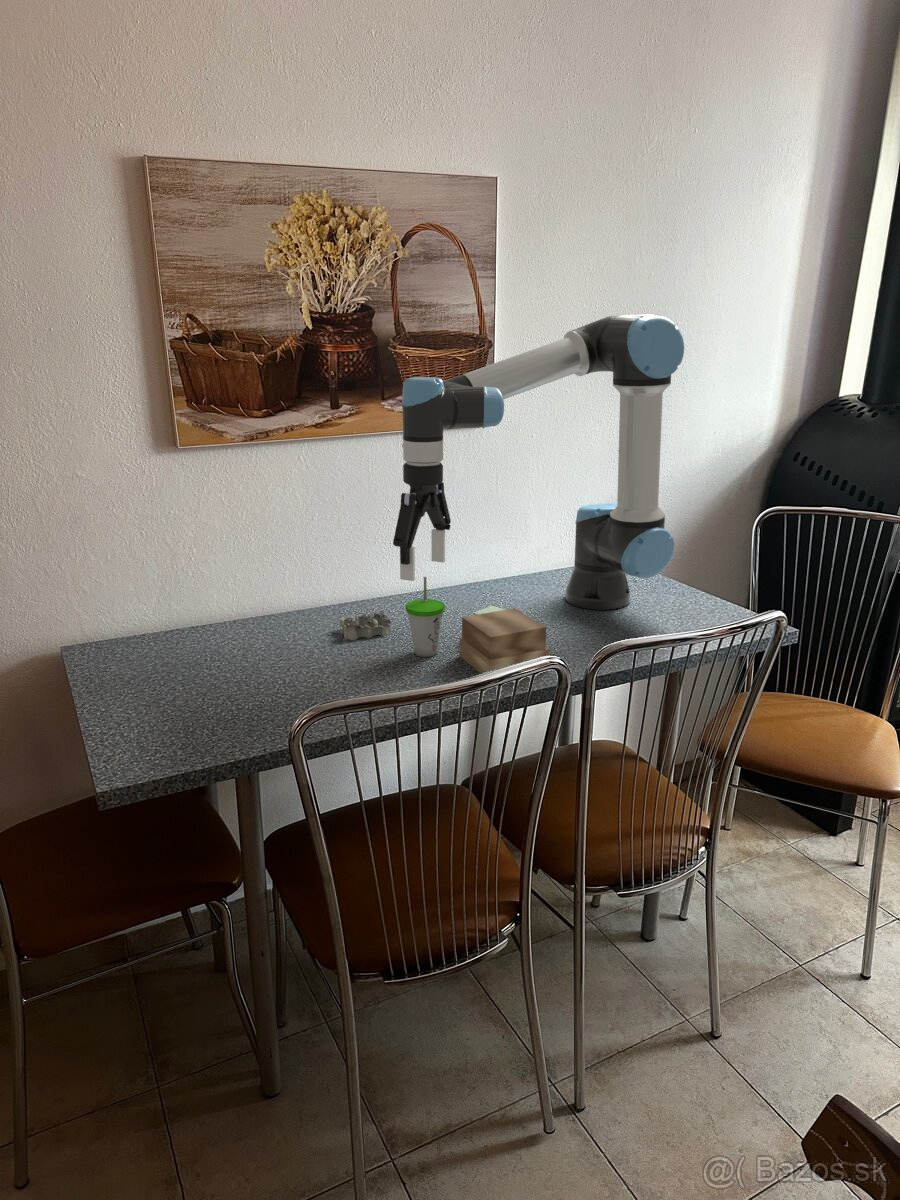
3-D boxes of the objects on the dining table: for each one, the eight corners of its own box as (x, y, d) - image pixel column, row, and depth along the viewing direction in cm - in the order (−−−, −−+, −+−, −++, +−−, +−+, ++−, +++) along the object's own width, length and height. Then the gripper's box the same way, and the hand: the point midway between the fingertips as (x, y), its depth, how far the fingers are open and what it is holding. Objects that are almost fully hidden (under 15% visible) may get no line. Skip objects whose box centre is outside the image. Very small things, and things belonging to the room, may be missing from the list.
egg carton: (344, 643, 181) (343, 624, 180) (337, 630, 188) (336, 613, 186) (393, 636, 184) (393, 618, 183) (385, 624, 191) (384, 607, 189)
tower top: (514, 628, 176) (514, 608, 175) (545, 648, 166) (546, 627, 165) (462, 638, 171) (462, 617, 170) (490, 659, 161) (491, 637, 160)
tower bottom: (515, 647, 179) (516, 627, 177) (549, 670, 167) (549, 649, 166) (459, 658, 173) (459, 637, 172) (490, 682, 162) (490, 660, 161)
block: (492, 631, 186) (492, 605, 184) (513, 639, 182) (513, 612, 180) (473, 639, 182) (473, 612, 180) (494, 646, 178) (494, 619, 176)
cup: (432, 663, 170) (431, 591, 165) (399, 656, 173) (397, 585, 168) (452, 650, 176) (452, 580, 171) (419, 643, 180) (418, 574, 175)
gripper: (433, 451, 174) (433, 552, 181) (372, 471, 153) (375, 585, 159) (467, 454, 171) (466, 556, 178) (410, 475, 150) (411, 590, 157)
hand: (423, 570), depth 169 cm, fingers open, 13 cm apart
